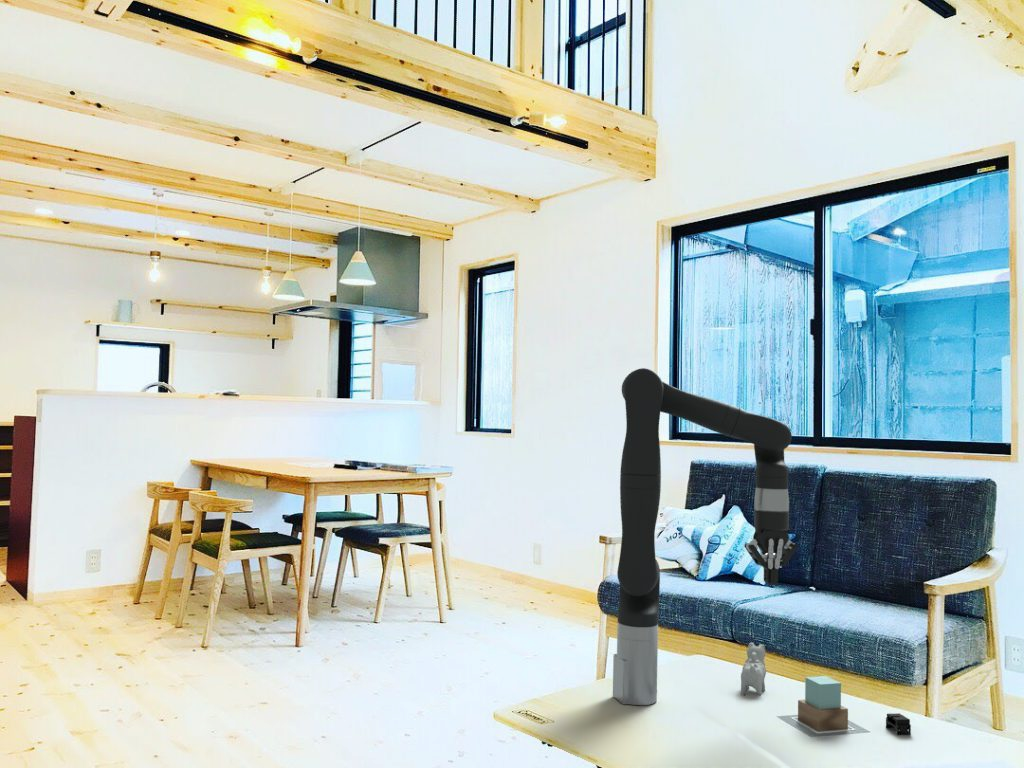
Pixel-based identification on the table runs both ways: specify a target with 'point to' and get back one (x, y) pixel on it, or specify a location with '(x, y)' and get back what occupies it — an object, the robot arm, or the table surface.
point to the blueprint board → (814, 733)
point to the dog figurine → (754, 669)
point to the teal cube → (823, 692)
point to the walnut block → (822, 717)
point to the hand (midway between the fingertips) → (770, 584)
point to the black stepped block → (899, 723)
